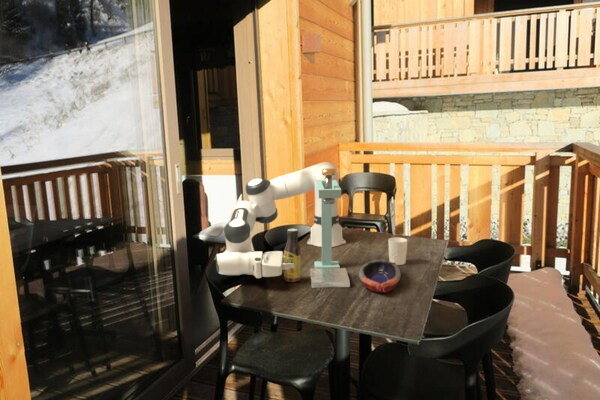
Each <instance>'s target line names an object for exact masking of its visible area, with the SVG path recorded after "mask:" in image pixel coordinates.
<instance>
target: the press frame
mask: <svg viewBox="0 0 600 400" xmlns="http://www.w3.org/2000/svg"><path fill="white" fill-rule="evenodd" d="M316 189H317V193H318V197H319V198H321V232H322V247H321V261H320V260H319V261H318V260H316V261H314V264H313V265H314V269H320V268H341V266H340V263H339V260H333V257H332V256H333V249H332V248H333V247H332V204H324V203H323V198H338V199H341V198H342V188H341V187H340V185H339V182H338V183H337V181H336V180H332V189H326V182H325V180H316Z"/></svg>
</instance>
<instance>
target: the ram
mask: <svg viewBox="0 0 600 400" xmlns="http://www.w3.org/2000/svg"><path fill="white" fill-rule="evenodd" d="M336 170H337V168H336V169H331V168H327V169H322V175H325V182H326V189H332V175H336ZM323 203H324V204H333V203H335V198H323Z"/></svg>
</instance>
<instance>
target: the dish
mask: <svg viewBox="0 0 600 400" xmlns="http://www.w3.org/2000/svg"><path fill="white" fill-rule="evenodd" d="M358 277H359V279H360V282H361V284H362V285H363V287H365V288H366V289H369V291H372V292H377V293H380V294H381V293H388V292H389V291H392V290H394V289H395V288H397V286H398V285H399V282H400V280H401V278H402V274H401V270H400V268H399V265H396V263H395V262H390V261H389V260H385V259H375V260H370V261H368V262H366V263H364V264H363V265H362V266H360V269H359V271H358Z"/></svg>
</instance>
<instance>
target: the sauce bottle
mask: <svg viewBox="0 0 600 400" xmlns="http://www.w3.org/2000/svg"><path fill="white" fill-rule="evenodd" d="M298 234H299V230H298V229H297V228H288V229H287V241H286V245H285V247H284V250H283V256H284V262H283V263H285V264H287V263H295V267H294V268H290V269H286V270H283V276H284V281H285V282H289V283H296V282H300V280H301V261H302V260H301V257H302V256H301V255H302V254H301V245H300V243H299V241H298V239H299V238H298Z"/></svg>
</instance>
